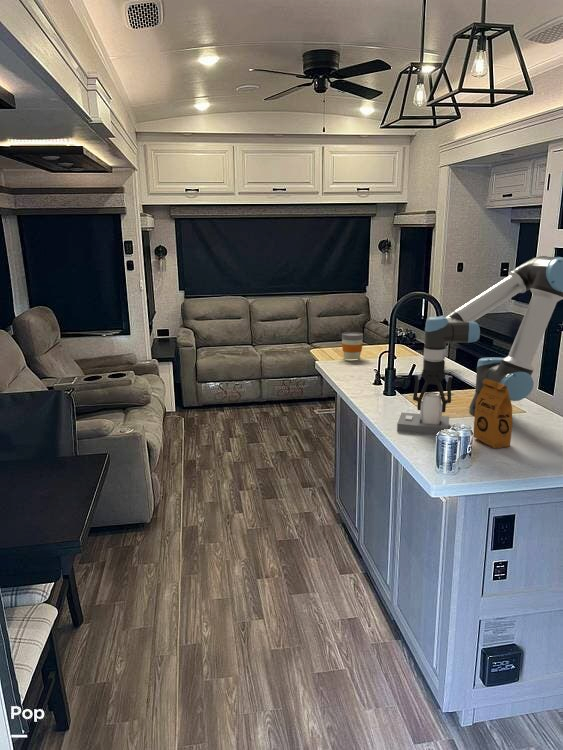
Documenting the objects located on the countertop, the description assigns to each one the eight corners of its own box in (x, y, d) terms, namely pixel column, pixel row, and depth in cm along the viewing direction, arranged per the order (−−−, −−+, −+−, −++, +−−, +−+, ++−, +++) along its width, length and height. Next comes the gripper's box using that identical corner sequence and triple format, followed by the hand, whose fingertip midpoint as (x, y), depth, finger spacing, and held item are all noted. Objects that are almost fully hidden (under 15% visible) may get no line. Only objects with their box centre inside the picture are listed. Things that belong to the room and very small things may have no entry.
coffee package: (490, 450, 188) (495, 387, 183) (468, 438, 200) (473, 378, 194) (515, 447, 191) (521, 385, 185) (492, 435, 202) (498, 376, 197)
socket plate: (448, 423, 214) (449, 415, 213) (447, 436, 201) (448, 426, 201) (401, 419, 220) (401, 410, 219) (397, 431, 207) (397, 422, 206)
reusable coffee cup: (339, 357, 331) (339, 332, 328) (359, 356, 333) (360, 331, 329) (343, 361, 319) (344, 336, 315) (365, 361, 320) (365, 335, 317)
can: (440, 428, 206) (442, 397, 203) (422, 427, 207) (423, 396, 204) (438, 422, 212) (440, 392, 209) (421, 421, 213) (423, 391, 210)
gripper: (462, 358, 204) (457, 418, 210) (408, 355, 210) (405, 414, 215) (461, 363, 197) (457, 424, 203) (406, 360, 203) (403, 420, 209)
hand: (430, 419), depth 209 cm, fingers closed on can, 6 cm apart
